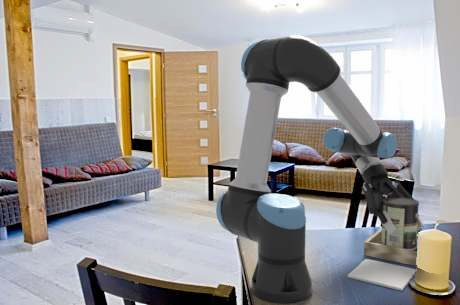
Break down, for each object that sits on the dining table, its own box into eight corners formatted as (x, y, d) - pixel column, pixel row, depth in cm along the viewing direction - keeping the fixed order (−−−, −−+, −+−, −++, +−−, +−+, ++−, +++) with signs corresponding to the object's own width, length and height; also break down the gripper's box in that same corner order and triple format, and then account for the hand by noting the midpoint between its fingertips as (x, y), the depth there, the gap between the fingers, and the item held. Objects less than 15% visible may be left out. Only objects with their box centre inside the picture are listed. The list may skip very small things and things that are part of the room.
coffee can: (412, 241, 135) (414, 197, 133) (420, 252, 125) (422, 205, 123) (378, 239, 137) (380, 196, 135) (383, 250, 127) (385, 204, 125)
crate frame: (363, 254, 130) (364, 242, 129) (380, 239, 142) (380, 228, 142) (420, 266, 120) (420, 253, 120) (432, 249, 133) (433, 237, 132)
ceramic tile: (347, 277, 114) (347, 275, 114) (365, 260, 125) (365, 258, 125) (402, 290, 106) (402, 288, 106) (416, 271, 117) (416, 269, 117)
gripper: (392, 173, 147) (427, 231, 135) (338, 179, 138) (370, 241, 126) (404, 160, 141) (442, 219, 129) (349, 165, 132) (384, 228, 120)
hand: (406, 229), depth 127 cm, fingers closed on coffee can, 10 cm apart
